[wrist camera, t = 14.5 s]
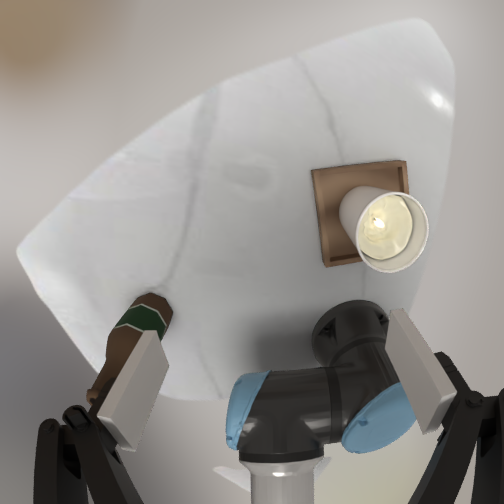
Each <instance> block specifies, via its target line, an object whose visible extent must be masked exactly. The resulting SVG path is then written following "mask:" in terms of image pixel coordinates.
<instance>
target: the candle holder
mask: <svg viewBox="0 0 504 504" xmlns="http://www.w3.org/2000/svg"><path fill="white" fill-rule="evenodd" d="M339 219H340V222H341V225H342V227H343V229H344V230H345V232H346V234H347V235H348V237H349V238H350V240H351V241H352V243H353V244H354V246H355V247H356V249H357V251H358V253H359V255H360V257H361V258H362V260H363V261H364V262H365V263H366V264H367V265H368V266H369V267H371V268H372V269H374V270H376V271H379V272H383V273H394V272H398V271H401V270H403V269H405V268H407V267H409V266H410V265H411V264H413V263H414V262H415V261H416V260H417V259H418V257H419V256H420V255H421V253H422V252H423V250H424V248H425V245H426V242H427V239H428V233H429V224H428V218H427V215H426V212H425V210H424V208H423V207H422V205H421V204H420V203H419V202H418V201H417V200H416V199H415V198H414V197H412V196H410V195H408V194H406V193H402V192H395V191H391V190H387V189H382V188H378V187H373V186H358V187H355V188H353V189H352V190H350V191H349V192H348V193H347V194H346V195H345V196H344V198H343V199H342V201H341V204H340V207H339Z"/></svg>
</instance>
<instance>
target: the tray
mask: <svg viewBox="0 0 504 504" xmlns="http://www.w3.org/2000/svg"><path fill="white" fill-rule="evenodd" d="M311 174H312V180H313V187H314V194H315V201H316V208H317V216H318V223H319V231H320V240H321V249H322V258H323V263H324V265H325V267H332V266H338V265H344V264H350V263H355V262H361V261H363V260H362V258H361V257H360V255H359V253H358V251H357V249H356V247H355V246H354V244H353V243H352V241H351V240H350V238H349V237H348V235H347V234H346V232H345V230H344V229H343V227H342V225H341V222H340V219H339V207H340V204H341V201H342V199H343V198H344V196H345V195H346V194H347V193H348V192H349V191H350V190H352V189H353V188H355V187H358V186H373V187H378V188H382V189H387V190H391V191H395V192H402V193H406V194H408V195H409V187H408V175H407V165H406V161H401V160H396V161H385V162H374V163H364V164H355V165H346V166H338V167H330V168H322V169H315V170H311Z"/></svg>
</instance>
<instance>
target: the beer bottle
mask: <svg viewBox="0 0 504 504" xmlns="http://www.w3.org/2000/svg"><path fill="white" fill-rule="evenodd" d="M172 314H173V311H172V310H171V308H170V306H169V305H168V303H167V301H166V299H164V298H162V297H160V296H157V295H155V294H153V293H149V294H146V295H144V296H141V297H138V298H137V299H136V300H135V301H134V302H133V304H132V305H131V306H130V307H129V309H128V310H127V311H126V313H125V314H124V315H123V316H122V318H121V319H120V320H119V322H118V323H117V324H116V325H115V327H114V328H113V329H112V331H111V333H110V334H109V336H108V341H107V347H106V362H105V364H104V366H103V368H102V370H101V371H100V373H99V375H98V377H97V379H96V381H95V383H94V384H93V387H92V388H91V389H88V390H87V395H86V396H87V401H88V402H89V404H90V405H91V406H92V405H93V403H94V401H95V399H96V398H97V397H98V394H99V392H101V389H102V387H103V386H104V384H105V383H106V382H107V381H108V380H109V379H110V378H111V377H114V378H117V377H118V375H119V374H120V372H121V370H122V368H123V367H124V365H125V363H126V362H127V360H128V358H129V356H130V355H131V353H132V351H133V349H134V348H135V346H136V344H137V343H138V341H139V339H140V338H141V336H142V334H143V333H144V331H150V330H156V331H157V334H158V337H159V339H160V342H161V340H162V339H163V337H164V335H165V333H166V331H167V329H168V326H169V323H170V320H171V317H172Z"/></svg>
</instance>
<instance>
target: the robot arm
mask: <svg viewBox="0 0 504 504" xmlns="http://www.w3.org/2000/svg"><path fill="white" fill-rule="evenodd" d="M312 346H313V351H314V355H315V357H316V359H317V360H318V362H319V363H320V364H321V366H322V367H320V368H311V369H301V370H290V371H274V372H272V371H271V370H268V371H266V372H259V373H248V374H244V375H242V376H241V377H240V378H239V379H238V380H237V381H236V383H235V384H234V387H233V389H232V392H231V396H230V400H229V405H228V410H227V418H226V434H227V435H226V442H227V445H228V446H229V448H231V449H233V450H239V462H240V463H241V464H243V465H244V466H245V467H246V468H247V469H248V470H249V471H250V473H251V504H314V477H313V469H314V467H315V465H317V464H318V463H319V462H320V461H321V460H322V458H323V457H324V447H323V446H324V444H330V443H337V442H341V443H342V445H343V447H344V448H345V449H346V450H347V451H348V452H351V453H353V452H355V453H358V454H360V453H367V452H371V451H375V450H378V449H380V448H383V447H385V446H387V445H388V444H390V443H392V442H394V441H395V440H397V439H398V438H399V437H400V436H402V435H403V434H404V433H405V432H407V431H408V430H409V428H410V427H411V426H412V425H413V424H414V422H415V421H416V419H417V421H418V423H419V426H420V428H421V431H422V433H423V435H424V434H427V433H430V432H433V431H436V430H437V429H438V427H439V426H440V424H441V423H442V425H443V427H444V430H443V431H442V433H441V435H440V436H439V438H438V439H437V441H438V443H437V446H436V448H435V451H434V453H433V455H432V458H431V460H430V462H429V464H428V466H427V468H426V470H425V472H424V474H423V476H422V478H421V480H420V483H419V484H418V486H417V488H416V490H415V492H414V493H413V495H412V497H411V499H410V501H409V503H408V504H454V502H455V499H456V497H457V495H458V492H459V490H460V488H461V485H462V483H463V480H464V477H465V475H466V472H467V469H468V466H469V463H470V460H471V457H472V454H473V451H474V448H475V444H476V441H477V450H476V465H475V476H474V485H473V492H472V499H471V504H504V388H503V389H502V390H501V391H500V393H499V395H498V396H490V397H484V396H483V395H482V394H481V393H479V392H477V391H471V390H470V388H469V387H468V385H467V383H466V382H465V380H464V379H463V377H462V376H461V374H460V373H459V371H457V368H456V366H455V365H454V363H453V362H452V360H451V359H450V358H449V357H448V356H447V355H445V354H444V353H443V352H438V353H433V352H432V350H431V349H430V347H429V346H428V344H427V343H426V341H425V340H424V338H423V337H422V335H421V334H420V332H419V331H418V330H417V328H416V327H415V325H414V324H413V322H412V321H411V320H410V318H409V316H408V315H407V314H406V312H405V311H404V309H403V308H402V309H396V310H391V312H390V319H389V318H388V317H387V315H386V314H385V312H384V311H383V310H382V308H380V307H379V306H378V305H376V304H374V303H372V302H369V301H362V300H356V301H349V302H346V303H343V304H340V305H338V306H336V307H334V308H332V309H331V310H329V311H328V312H327V313H326V314H325V315H324V316H323V317H322V318H321V319H320V320H319V321H318V323H317V324H316V326H315V328H314V331H313V334H312ZM168 368H169V364H168V361H167V359H166V356H165V353H164V350H163V348H162V345H161V342H160V339H159V337H158V334H157V331H156V330H150V331H144V333H143V334H142V336H141V338H140V339H139V341H138V343H137V344H136V346H135V348H134V349H133V351H132V353H131V355H130V356H129V358H128V360H127V362H126V363H125V365H124V367H123V368H122V370H121V372H120V374H119V375H118V377H117V378H114V377H111V378H110V379H109V380H108V381H107V382H106V383H105V384H104V386H103V387H102V389H101V392H99V394H98V397H97V398H96V399H95V401H94V403H93V405H92V406H91V408H90V410H89V412H88V413H87V411H86V410H85V408H84V407H82V406H80V405H74V406H71V407H69V408H67V409H66V410H65V412H64V414H63V417H62V419H63V421H64V422H65V423H66V424H67V425H60V424H59V423H58V421H57V420H55V419H46V420H45V421H43V422H42V423H41V425H40V427H39V431H38V439H37V447H36V457H35V469H34V495H33V496H34V497H33V499H34V500H33V503H34V504H88V495H87V485H88V488H89V491H90V493H91V496H92V499H93V501H94V504H144V503H143V501H142V500H141V498H140V496H139V495H138V493H137V491H136V489H135V487H134V485H133V483H132V481H131V479H130V477H129V475H128V473H127V471H126V469H125V467H124V465H123V462H122V461H121V458H120V456H119V454H118V452H117V450H116V449H115V447H116V445H117V443H118V444H119V446H120V447H121V448H122V449H124V450H129V451H134V452H136V450H137V447H138V445H139V442H140V439H141V437H142V434H143V431H144V429H145V426H146V424H147V421H148V418H149V416H150V413H151V411H152V408H153V406H154V403H155V400H156V398H157V395H158V393H159V390H160V388H161V385H162V383H163V380H164V378H165V375H166V373H167V370H168ZM86 483H87V484H86Z"/></svg>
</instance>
